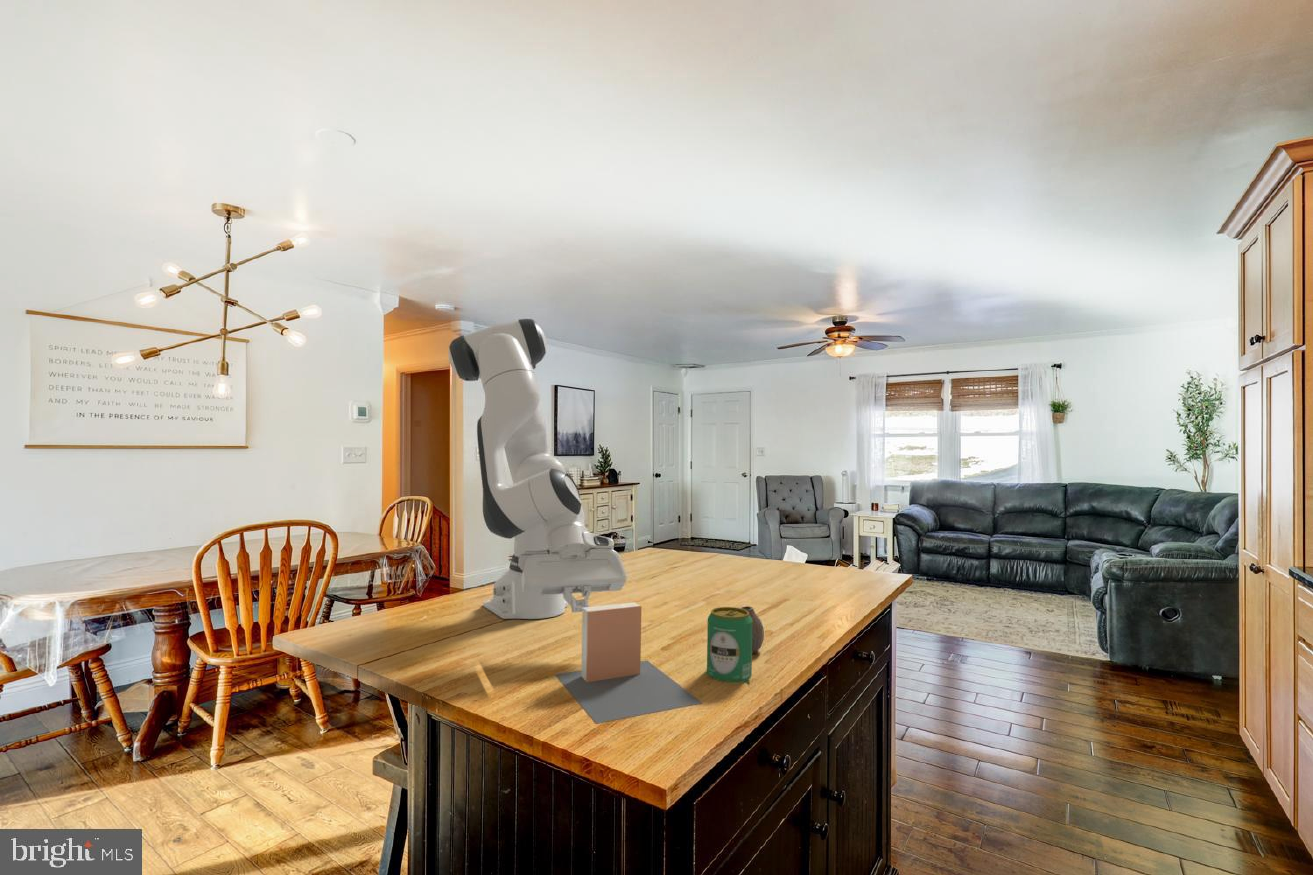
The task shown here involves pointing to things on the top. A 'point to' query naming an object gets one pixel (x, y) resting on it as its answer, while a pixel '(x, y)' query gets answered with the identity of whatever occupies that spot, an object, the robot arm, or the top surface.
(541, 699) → the top surface
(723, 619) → the beverage can
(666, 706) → the mat
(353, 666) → the top surface
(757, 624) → the vase
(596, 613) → the tile
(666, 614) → the top surface
